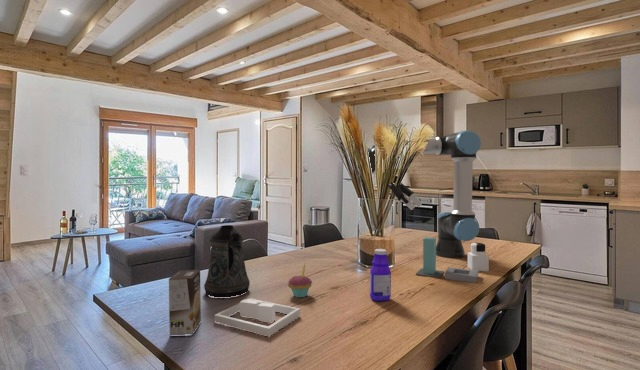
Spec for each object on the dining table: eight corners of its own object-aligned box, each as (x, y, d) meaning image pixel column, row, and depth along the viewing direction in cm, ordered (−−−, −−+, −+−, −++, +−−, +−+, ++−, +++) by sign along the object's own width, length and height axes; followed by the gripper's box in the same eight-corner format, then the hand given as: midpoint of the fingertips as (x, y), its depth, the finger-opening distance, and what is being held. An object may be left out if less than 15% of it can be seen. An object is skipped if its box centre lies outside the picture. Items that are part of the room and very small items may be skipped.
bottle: (387, 295, 128) (387, 247, 127) (393, 301, 122) (393, 251, 122) (367, 297, 126) (367, 248, 126) (372, 302, 121) (372, 252, 120)
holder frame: (249, 305, 119) (249, 298, 119) (300, 316, 110) (300, 308, 109) (214, 323, 105) (214, 314, 105) (269, 337, 95) (268, 328, 95)
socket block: (448, 272, 156) (448, 267, 156) (478, 276, 150) (478, 270, 150) (444, 278, 147) (444, 272, 147) (475, 282, 142) (476, 276, 142)
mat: (420, 269, 162) (420, 268, 162) (443, 272, 157) (443, 271, 157) (415, 275, 153) (415, 273, 153) (439, 278, 148) (439, 277, 148)
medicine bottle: (483, 267, 165) (483, 241, 164) (488, 271, 158) (489, 244, 157) (467, 267, 165) (467, 241, 165) (472, 271, 158) (472, 244, 158)
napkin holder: (231, 317, 110) (230, 299, 110) (264, 309, 117) (264, 292, 117) (249, 335, 98) (249, 314, 98) (286, 324, 104) (285, 305, 104)
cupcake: (315, 293, 131) (314, 261, 131) (306, 301, 123) (306, 266, 123) (293, 290, 134) (293, 259, 133) (284, 298, 126) (283, 264, 125)
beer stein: (225, 282, 144) (224, 221, 143) (264, 289, 136) (263, 224, 135) (194, 295, 129) (193, 227, 128) (236, 303, 121) (235, 231, 120)
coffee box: (193, 336, 96) (192, 278, 96) (169, 337, 96) (167, 279, 95) (201, 322, 106) (200, 269, 105) (179, 323, 105) (178, 270, 105)
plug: (425, 270, 159) (425, 237, 158) (435, 271, 156) (435, 237, 156) (423, 272, 155) (423, 238, 154) (433, 274, 152) (433, 239, 152)
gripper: (387, 179, 181) (417, 209, 175) (370, 181, 159) (404, 215, 153) (397, 168, 179) (428, 199, 172) (381, 169, 157) (416, 203, 150)
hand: (417, 206), depth 162 cm, fingers open, 13 cm apart
